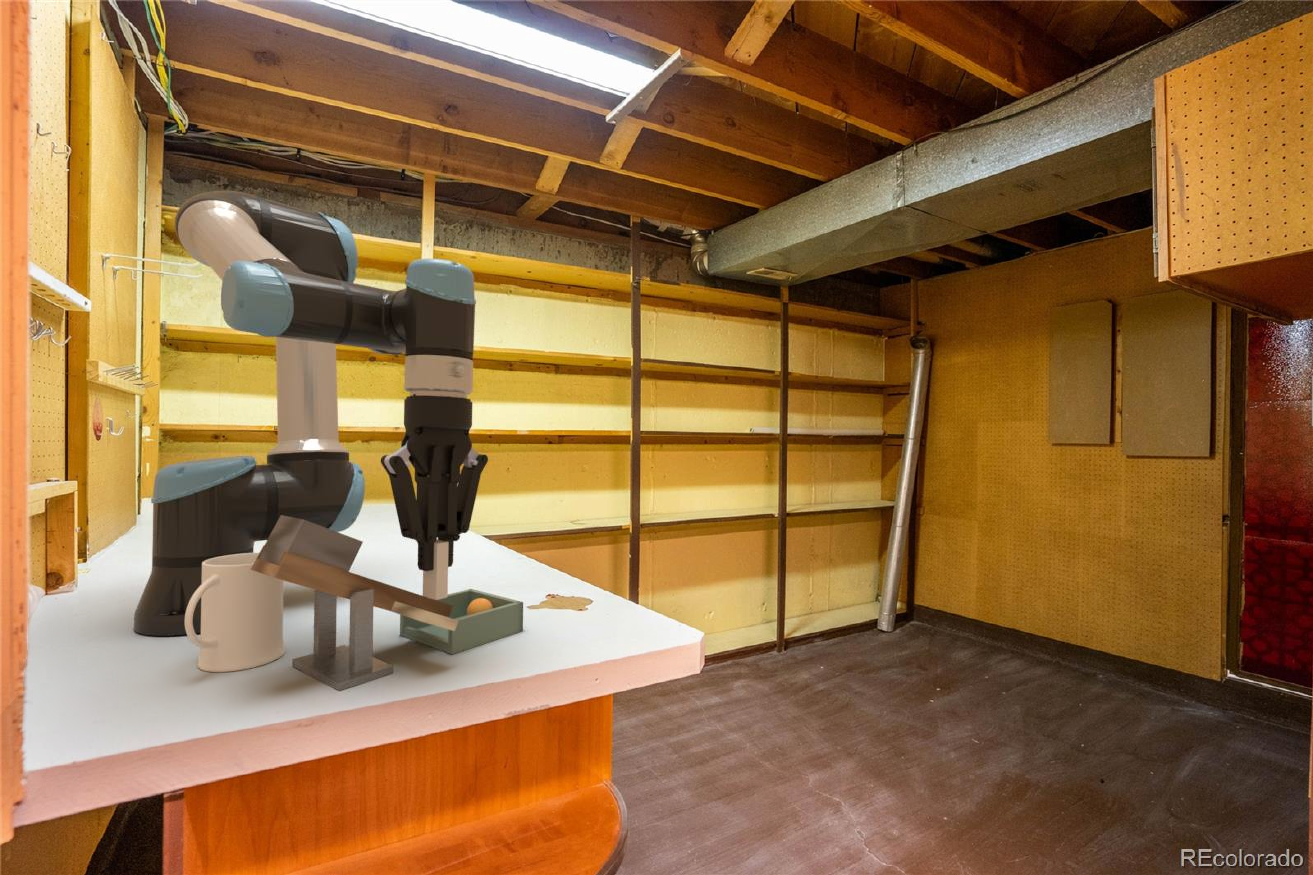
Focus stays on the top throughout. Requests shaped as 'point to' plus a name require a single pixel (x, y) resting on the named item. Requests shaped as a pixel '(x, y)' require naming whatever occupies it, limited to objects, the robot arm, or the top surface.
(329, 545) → the lever
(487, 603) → the ball
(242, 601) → the mug
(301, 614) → the top surface
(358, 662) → the stand
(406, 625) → the tray
